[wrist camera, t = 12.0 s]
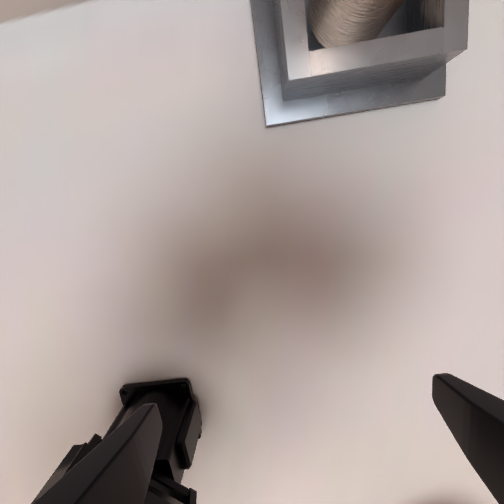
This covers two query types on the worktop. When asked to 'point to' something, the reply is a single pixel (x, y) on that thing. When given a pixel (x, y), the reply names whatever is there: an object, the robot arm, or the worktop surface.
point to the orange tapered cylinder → (349, 20)
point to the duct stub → (354, 60)
